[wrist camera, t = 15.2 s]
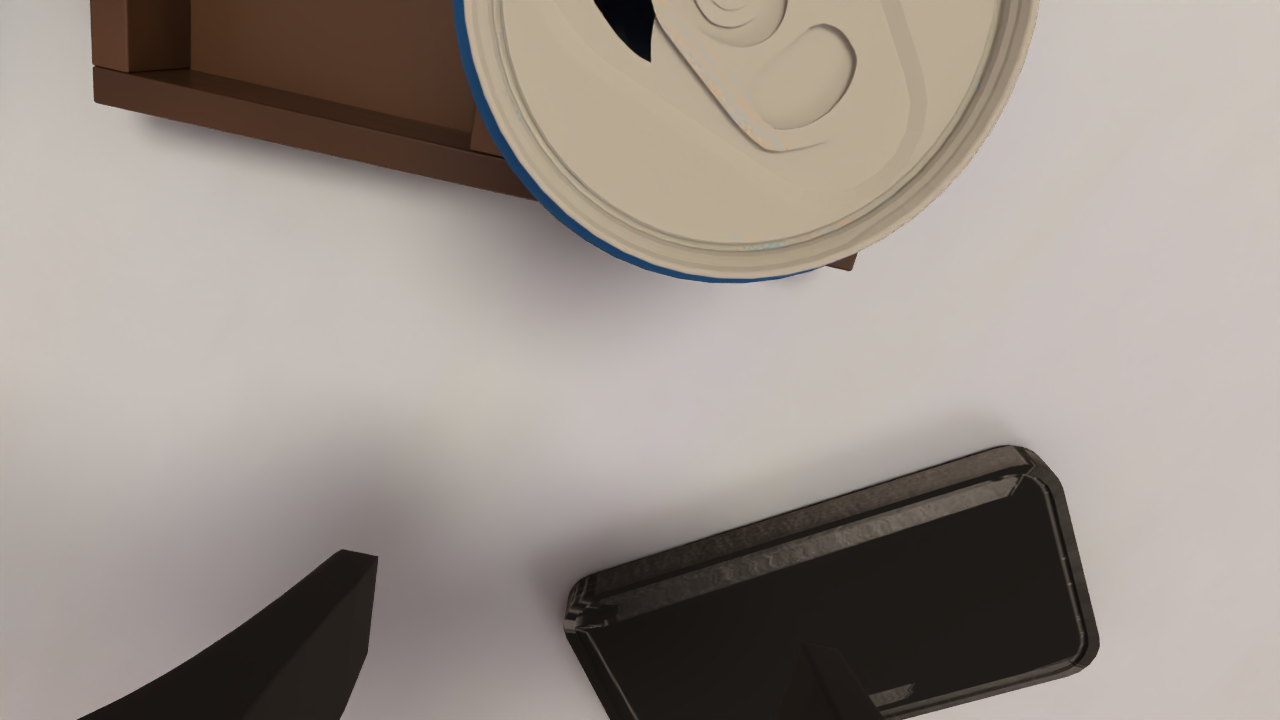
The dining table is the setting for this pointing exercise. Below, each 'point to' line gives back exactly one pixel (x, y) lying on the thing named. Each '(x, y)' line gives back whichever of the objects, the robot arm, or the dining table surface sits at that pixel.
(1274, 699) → the dining table surface
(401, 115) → the brown wooden divided tray
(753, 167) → the beverage can
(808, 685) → the robot arm
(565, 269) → the dining table surface
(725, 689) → the phone
